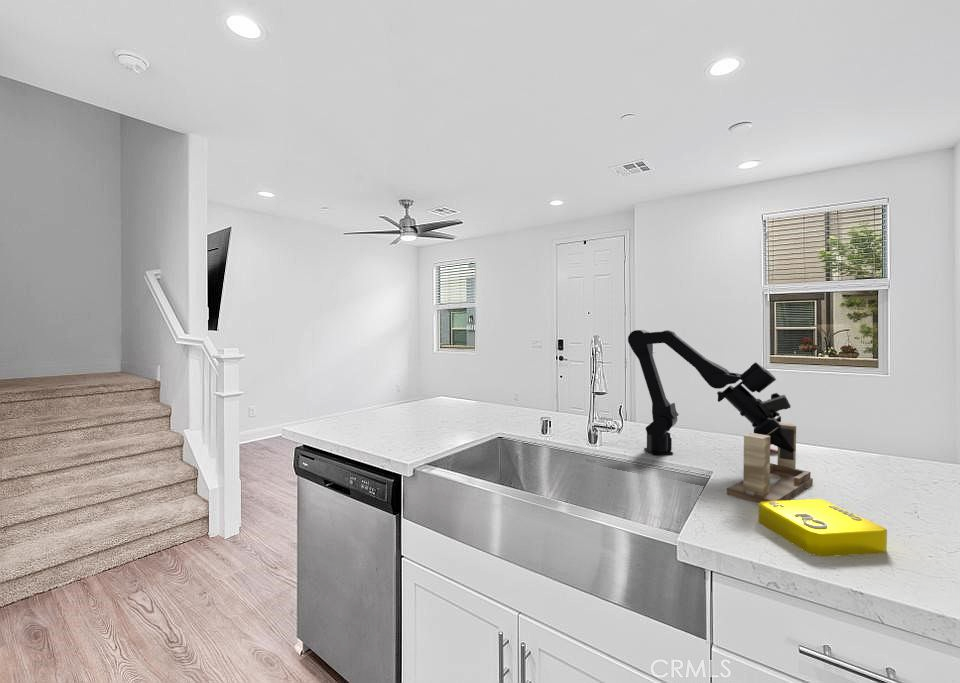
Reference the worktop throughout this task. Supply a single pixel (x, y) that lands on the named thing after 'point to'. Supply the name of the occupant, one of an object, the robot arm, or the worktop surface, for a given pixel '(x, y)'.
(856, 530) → the element tile
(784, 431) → the tan wooden upright block
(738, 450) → the worktop surface
